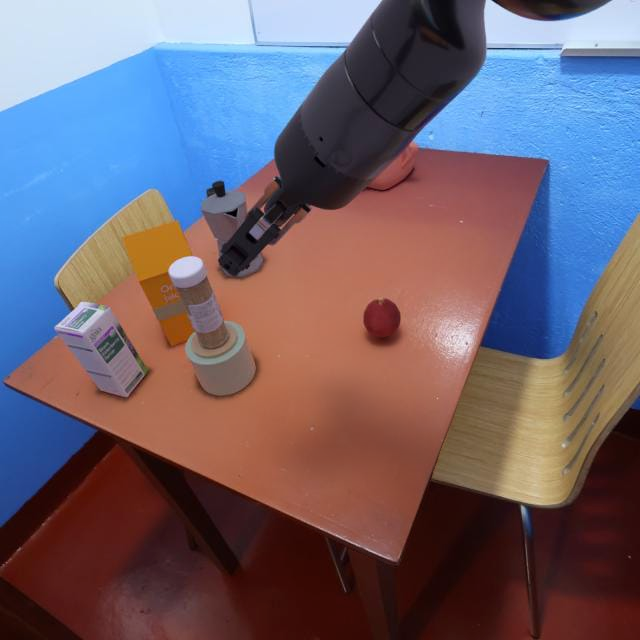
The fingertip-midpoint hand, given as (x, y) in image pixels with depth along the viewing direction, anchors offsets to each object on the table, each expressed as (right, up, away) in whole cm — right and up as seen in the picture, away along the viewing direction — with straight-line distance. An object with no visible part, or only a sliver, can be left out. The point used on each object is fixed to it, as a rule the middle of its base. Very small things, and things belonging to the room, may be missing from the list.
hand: (251, 242), depth 46 cm
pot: (+21, +28, +70) cm, 78 cm away
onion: (+17, -10, +30) cm, 36 cm away
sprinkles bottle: (-9, -11, +23) cm, 27 cm away
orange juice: (-16, -9, +38) cm, 42 cm away
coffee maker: (-10, +4, +50) cm, 51 cm away
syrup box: (-25, -18, +30) cm, 43 cm away
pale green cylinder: (-8, -16, +28) cm, 33 cm away
